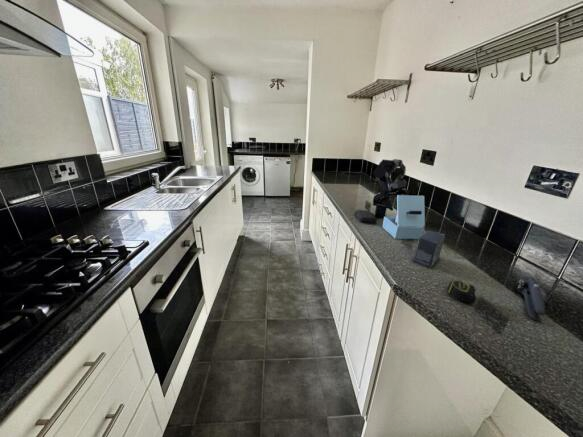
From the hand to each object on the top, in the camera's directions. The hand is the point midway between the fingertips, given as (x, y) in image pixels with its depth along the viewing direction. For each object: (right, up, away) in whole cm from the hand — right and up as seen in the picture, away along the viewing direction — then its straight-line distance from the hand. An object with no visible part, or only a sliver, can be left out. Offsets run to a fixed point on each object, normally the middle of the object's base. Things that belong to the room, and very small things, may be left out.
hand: (399, 209), depth 114 cm
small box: (-1, -21, -25) cm, 32 cm away
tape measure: (-2, -28, -44) cm, 53 cm away
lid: (+1, -1, -9) cm, 9 cm away
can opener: (+17, -30, -46) cm, 58 cm away
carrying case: (-12, -5, +14) cm, 19 cm away
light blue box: (0, -11, -1) cm, 11 cm away
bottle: (+1, -10, +1) cm, 10 cm away
